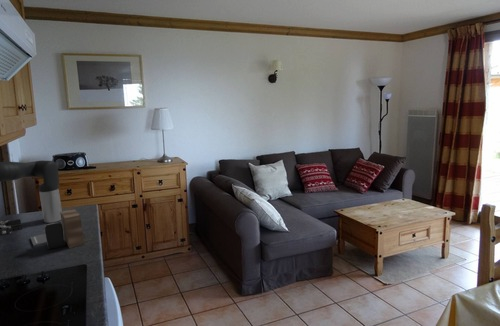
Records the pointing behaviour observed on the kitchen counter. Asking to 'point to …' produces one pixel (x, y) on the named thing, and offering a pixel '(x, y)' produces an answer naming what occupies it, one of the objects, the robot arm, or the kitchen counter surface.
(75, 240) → the brown rectangular block
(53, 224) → the battery charger
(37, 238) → the charging pad
